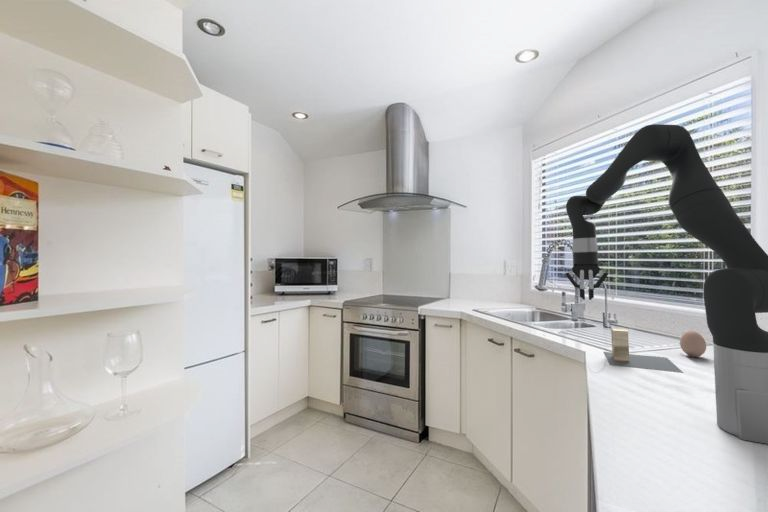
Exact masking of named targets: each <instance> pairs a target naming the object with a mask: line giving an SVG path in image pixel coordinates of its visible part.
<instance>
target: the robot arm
mask: <svg viewBox="0 0 768 512" xmlns="http://www.w3.org/2000/svg"><path fill="white" fill-rule="evenodd" d="M641 162H661V163H662V164H663V165H664V166H665V167H666V168H667V170H668V172H669V174H670V175H671V177H672V178H671V179H672V182H671V186H670V189H669V194H668V205H669V208H670V211H671V212H672V213H673V214H672V215H674V217H675V219H676V221H677V223H678V224H679V226H680V227H681V228H682V229H683V230H684V231H685V232H686V233H687V234H689V235H690V236H691V237H693V238H694V239H696V240H697V241H699V242H700V243H702V244H703V245H705V246H706V247H707V248H709V249H710V250H712V251H713V252H714V253H716V255H718V257H719V258H720V259H721V260H722V261H723V263H724V264H725V266H726V268H718V269H715V270H713V271H711V272H709V274H708V275H707V276H706V278H705V280H704V283H703V301H704V308H705V309H704V310H705V317H706V323H707V324H706V325H707V328H708V330H709V332H710V334H711V336H712V345H713V346H712V347H713V348H712V349H713V365H714V366H713V367H714V368H713V369H714V389H715V392H714V393H715V407H716V409H715V411H716V425H717V426H718V427H719V428H720V429H722V430H723V431H724V432H727V433H728V434H732V435H733V436H736V437H737V438H739V440H744V441H749V442H755V443H762V444H767V445H768V330H767V331H766V330H764V329H763V328H761V327H760V326H759V325H758V322H757V321H758V320H757V315H756V314H761V313H762V314H763V313H766V314H767V313H768V254H767V252H766V251H765V250H764V249H763V248H762V246H761V245H760V244H759V242H757V240H756V239H755V238H754V237H753V235H752V234H751V232H750V231H749V230H748V228H747V227H746V225H745V224H744V223H743V221H742V220H741V218H740V217H739V215H738V213H737V212H736V211H735V209H734V208H733V206H732V204H731V202H730V200H729V199H728V197H727V196H726V195H725V193H724V192H723V190H722V189H721V187H720V185H718V183H717V182H716V180H715V179H714V177H713V176H712V174H711V173H710V171H709V170H708V168H707V166H706V164H705V163H704V161H703V159H702V158H701V156H700V153H699V151H698V148H697V147H696V144H695V142H694V140H693V137H692V135H691V134H690V131H688V130H687V128H685V127H684V126H682V125H678V124H659V123H657V124H656V123H655V124H654V123H653V124H648V125H645V126H643V127H641V128H640V129H638V131H637V132H635V133H634V135H633V136H632V137H631V138H630V139H629V140H628V142H627V143H626V144H625V145H624V147H623V148H622V149H621V150H620V152H619V153H618V155H617V156H616V157H615V159H614V160H613V161H612V163H611V164H610V165H609V166H608V167H607V168H606V170H605V171H604V172H603V173H602V174H601V175H600V176H599V177H598V178H596V179H595V180H594V181H593V182H592V183H591V184H590V185H589V186H588V187H587V188H586V190H585V195H572V196H570V197H569V198H568V199H567V202H566V205H565V210H566V213H567V217H568V219H569V222H570V224H571V228H572V264H573V265H572V268H571V270H570V271H568V272H565V277H566V278H567V279H568V280H569V281H570V283H571V284H572V286H573V287H574V288H576V289H579V297H580V299H582V300H584V301H585V300H586V296H585V295H586V294H585V293H586V292H585V280H588V300H590V301H592V299H594V297H595V296H594V295H595V293H594V291H595V289H597V288H600V287H601V285H602V284H603V282H604V281H605V279H606V278H607V277H608V276H609V273H608V272H606V271H604V270H601V267H599V255H598V241H597V230H596V228H597V227H596V224H595V222H593V221H589V220H586V218H585V217H584V216H593V215H594V214H597V213H598V212H600V211H601V210H602V207H603V206H604V205H605V204H606V202H607V200H609V199H610V198H611V197H612V196H614V195H615V194H616V193H617V192H619V191H620V189H621V188H622V187H623V186H624V184H625V182H626V178H627V174H628V172H629V171H630V169H632V168H633V167H634V166H636V165H638V164H640V163H641ZM573 273H574V274H573ZM574 275H575V276H576V277H577V278H578V279H579V283H577V282H576V281H575V279H573V277H574ZM597 275H598V276H599V278H598V280H597V281H596V283H594V279H595V278H596V276H597Z"/></svg>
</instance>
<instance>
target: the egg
mask: <svg viewBox="0 0 768 512" xmlns="http://www.w3.org/2000/svg"><path fill="white" fill-rule="evenodd" d="M679 346H680V348H681V350H682V352H683V353H685V354H686V355H687V356H689V357H693V358H696V357H701V356H702V355H704V354H705V353H706V351H707V343H706V340H705V338H704V337H703V335H702V334H701V333H700V332H698V331H696V330H691V329H690V330H686V331H685V332H684V333H683V334H682V335H681V337H680V340H679Z"/></svg>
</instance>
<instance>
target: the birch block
mask: <svg viewBox="0 0 768 512" xmlns="http://www.w3.org/2000/svg"><path fill="white" fill-rule="evenodd" d="M610 335H611V352H612V357H613V359H614V360H615V361H623V362H629V354H630V344H629V330H627V329H626V328H623V327H611V328H610Z"/></svg>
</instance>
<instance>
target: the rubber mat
mask: <svg viewBox="0 0 768 512" xmlns="http://www.w3.org/2000/svg"><path fill="white" fill-rule="evenodd" d="M603 354H604V356H605V358H606V360H607V362H608V364H609V365H610V366H616V367H624V368H633V369H634V368H636V369H644V370H653V371H654V370H655V371H660V372H661V371H662V372H663V371H664V372H670V373H671V372H673V373H682V374H683V373H684V372H683V371H682V370H681V369H680V368H679V367H678V366H677V365H676V364H675V363H674V362H673V361H671V360H670V359H669V358H668V357H664V356H653V355H642V354H641V355H640V354H632V353H629V362H623V361H615V360H614V359H613V357H612V351H610V352H609V351H603Z"/></svg>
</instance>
